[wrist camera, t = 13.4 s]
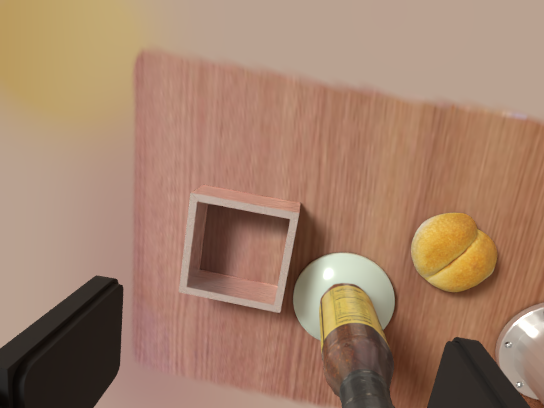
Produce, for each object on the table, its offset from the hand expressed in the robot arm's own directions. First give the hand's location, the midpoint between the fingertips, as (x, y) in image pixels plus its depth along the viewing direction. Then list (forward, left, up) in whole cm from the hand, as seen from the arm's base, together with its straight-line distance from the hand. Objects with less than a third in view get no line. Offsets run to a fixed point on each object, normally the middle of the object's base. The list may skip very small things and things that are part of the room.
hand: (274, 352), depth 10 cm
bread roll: (-18, +5, -33) cm, 38 cm away
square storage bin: (+5, +9, -33) cm, 34 cm away
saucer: (-8, +14, -33) cm, 36 cm away
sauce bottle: (-8, +14, -32) cm, 36 cm away
